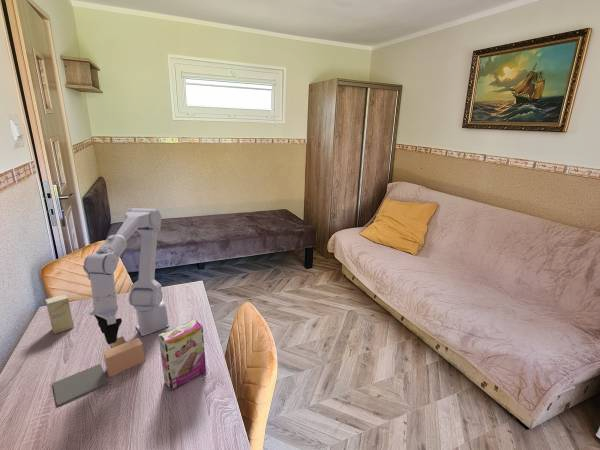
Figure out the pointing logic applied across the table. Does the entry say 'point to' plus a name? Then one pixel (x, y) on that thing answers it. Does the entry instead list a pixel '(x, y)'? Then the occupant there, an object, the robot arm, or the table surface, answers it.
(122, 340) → the brown cube
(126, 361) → the block
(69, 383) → the mat
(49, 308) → the skincare box
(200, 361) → the candy bar box
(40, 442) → the table surface
